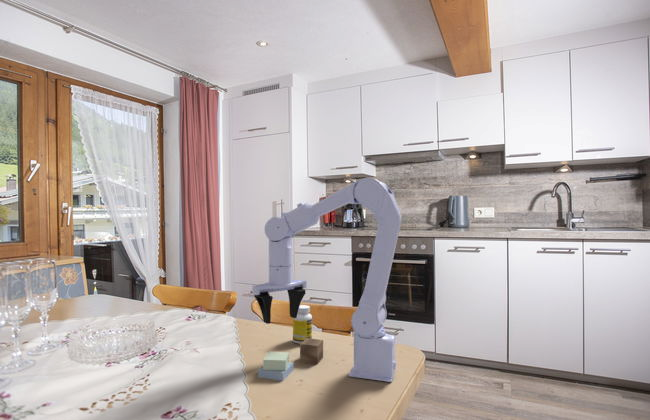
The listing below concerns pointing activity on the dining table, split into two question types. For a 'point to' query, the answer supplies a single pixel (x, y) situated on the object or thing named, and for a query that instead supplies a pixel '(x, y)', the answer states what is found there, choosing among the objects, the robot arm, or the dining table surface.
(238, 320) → the dining table surface
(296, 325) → the supplement bottle
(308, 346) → the walnut cube
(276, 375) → the slate slab
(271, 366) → the sage block
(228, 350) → the dining table surface
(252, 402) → the dining table surface
